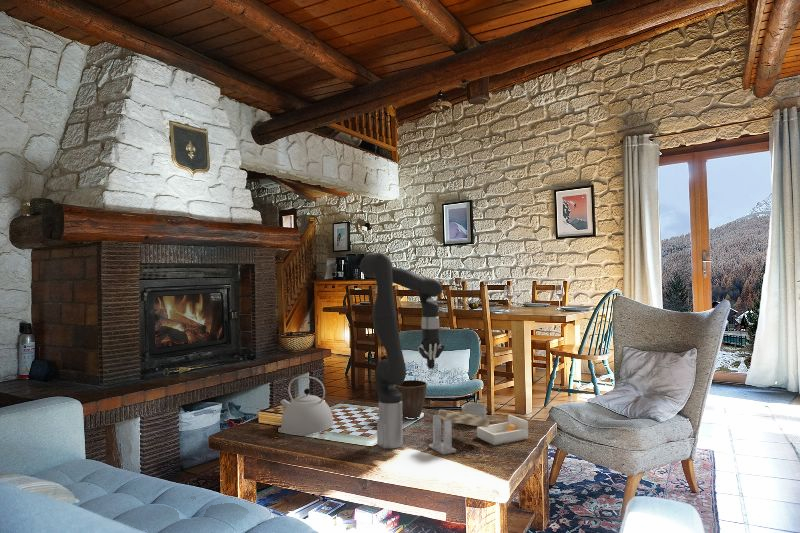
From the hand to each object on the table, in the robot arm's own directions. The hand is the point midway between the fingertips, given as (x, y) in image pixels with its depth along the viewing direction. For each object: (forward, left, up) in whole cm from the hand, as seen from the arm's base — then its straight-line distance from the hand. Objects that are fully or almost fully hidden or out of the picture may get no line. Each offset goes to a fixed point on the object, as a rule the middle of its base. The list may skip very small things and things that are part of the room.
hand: (431, 368), depth 219 cm
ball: (+26, -20, -24) cm, 41 cm away
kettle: (-45, +34, -27) cm, 63 cm away
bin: (+22, -20, -27) cm, 40 cm away
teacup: (+24, +4, -27) cm, 37 cm away
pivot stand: (-7, -20, -27) cm, 34 cm away
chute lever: (+3, -15, -18) cm, 24 cm away
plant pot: (+3, +24, -27) cm, 36 cm away
